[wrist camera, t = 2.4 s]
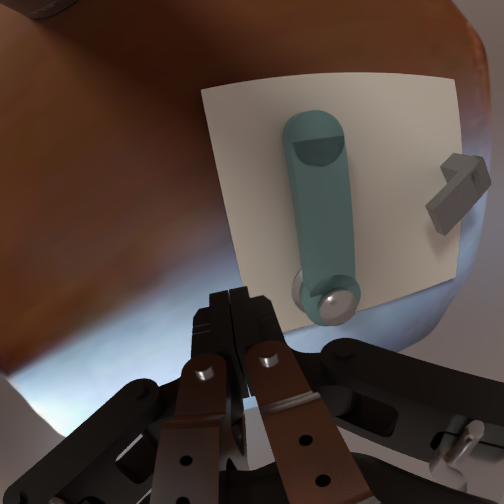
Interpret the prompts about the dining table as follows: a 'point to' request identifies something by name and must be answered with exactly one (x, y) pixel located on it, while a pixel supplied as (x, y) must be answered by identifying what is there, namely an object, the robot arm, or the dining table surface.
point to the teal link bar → (321, 206)
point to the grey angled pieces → (441, 213)
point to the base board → (360, 173)
